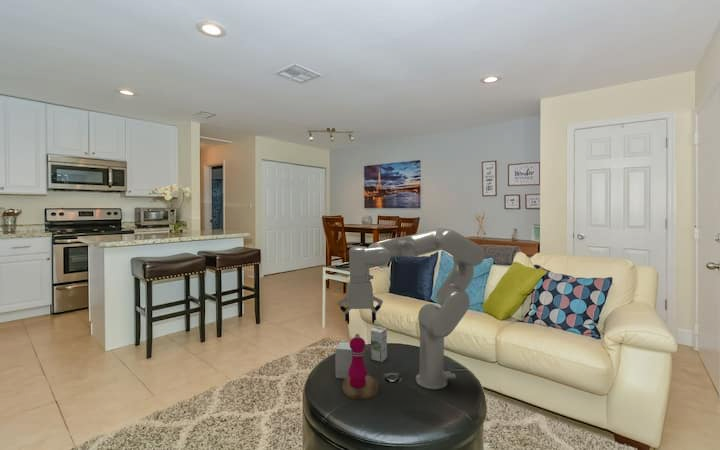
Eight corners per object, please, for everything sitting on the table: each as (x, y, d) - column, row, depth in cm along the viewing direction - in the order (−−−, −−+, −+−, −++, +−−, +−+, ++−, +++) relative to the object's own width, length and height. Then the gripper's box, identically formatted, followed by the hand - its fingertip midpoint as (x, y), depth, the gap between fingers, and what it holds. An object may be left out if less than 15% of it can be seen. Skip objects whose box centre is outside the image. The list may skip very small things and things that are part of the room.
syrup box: (387, 358, 167) (387, 327, 166) (381, 363, 162) (381, 331, 161) (376, 355, 170) (376, 325, 169) (370, 360, 165) (370, 329, 164)
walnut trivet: (377, 379, 147) (377, 374, 147) (379, 399, 133) (379, 392, 133) (343, 380, 147) (342, 374, 146) (341, 399, 133) (341, 393, 133)
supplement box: (352, 379, 147) (352, 350, 146) (335, 378, 149) (334, 348, 148) (356, 371, 155) (355, 342, 154) (339, 369, 156) (339, 341, 155)
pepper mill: (344, 385, 138) (344, 335, 137) (355, 377, 144) (355, 329, 143) (360, 390, 134) (359, 339, 133) (370, 382, 140) (370, 332, 138)
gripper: (381, 276, 140) (382, 318, 142) (337, 277, 140) (338, 319, 141) (383, 280, 133) (383, 325, 134) (336, 281, 132) (337, 326, 134)
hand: (360, 322), depth 138 cm, fingers open, 9 cm apart
